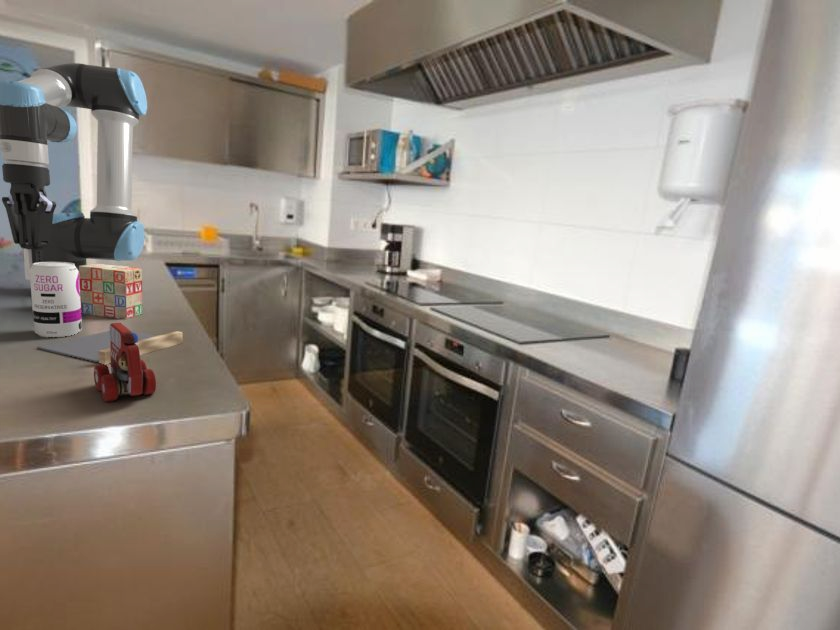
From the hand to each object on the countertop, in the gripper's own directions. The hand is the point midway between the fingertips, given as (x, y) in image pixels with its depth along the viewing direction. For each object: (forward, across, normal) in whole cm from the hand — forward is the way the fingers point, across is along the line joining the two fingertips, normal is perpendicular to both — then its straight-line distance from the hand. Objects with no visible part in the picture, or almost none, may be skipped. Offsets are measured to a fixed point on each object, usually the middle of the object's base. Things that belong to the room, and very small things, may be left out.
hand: (34, 278), depth 104 cm
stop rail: (+11, +30, 0) cm, 32 cm away
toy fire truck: (+12, +44, -15) cm, 48 cm away
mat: (+11, +21, 0) cm, 24 cm away
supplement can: (+11, +6, 0) cm, 13 cm away
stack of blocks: (+11, -6, +18) cm, 22 cm away
